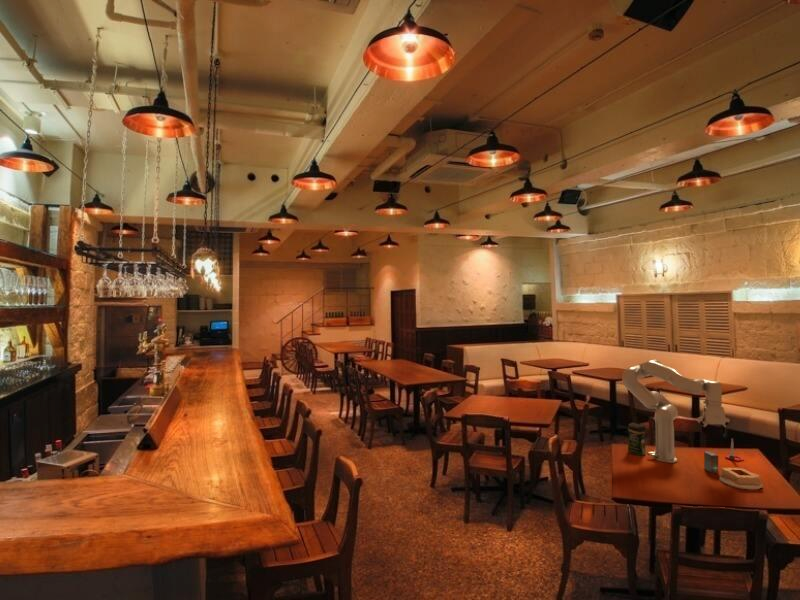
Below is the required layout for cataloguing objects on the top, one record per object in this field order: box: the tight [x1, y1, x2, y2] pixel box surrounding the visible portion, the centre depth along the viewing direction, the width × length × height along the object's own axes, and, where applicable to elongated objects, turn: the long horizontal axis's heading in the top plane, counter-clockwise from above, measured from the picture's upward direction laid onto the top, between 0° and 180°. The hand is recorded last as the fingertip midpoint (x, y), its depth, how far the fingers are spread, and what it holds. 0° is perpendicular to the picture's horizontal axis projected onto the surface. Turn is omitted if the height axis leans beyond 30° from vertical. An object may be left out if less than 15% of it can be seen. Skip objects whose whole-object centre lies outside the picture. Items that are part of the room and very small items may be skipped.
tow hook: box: [724, 438, 745, 463], centre depth 273 cm, size 8×13×9 cm
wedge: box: [703, 451, 719, 474], centre depth 254 cm, size 4×6×10 cm, turn 177°
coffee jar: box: [627, 422, 647, 456], centre depth 284 cm, size 10×8×19 cm
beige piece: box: [719, 467, 763, 491], centre depth 238 cm, size 18×18×6 cm
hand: (713, 433), depth 255 cm, fingers open, 9 cm apart
